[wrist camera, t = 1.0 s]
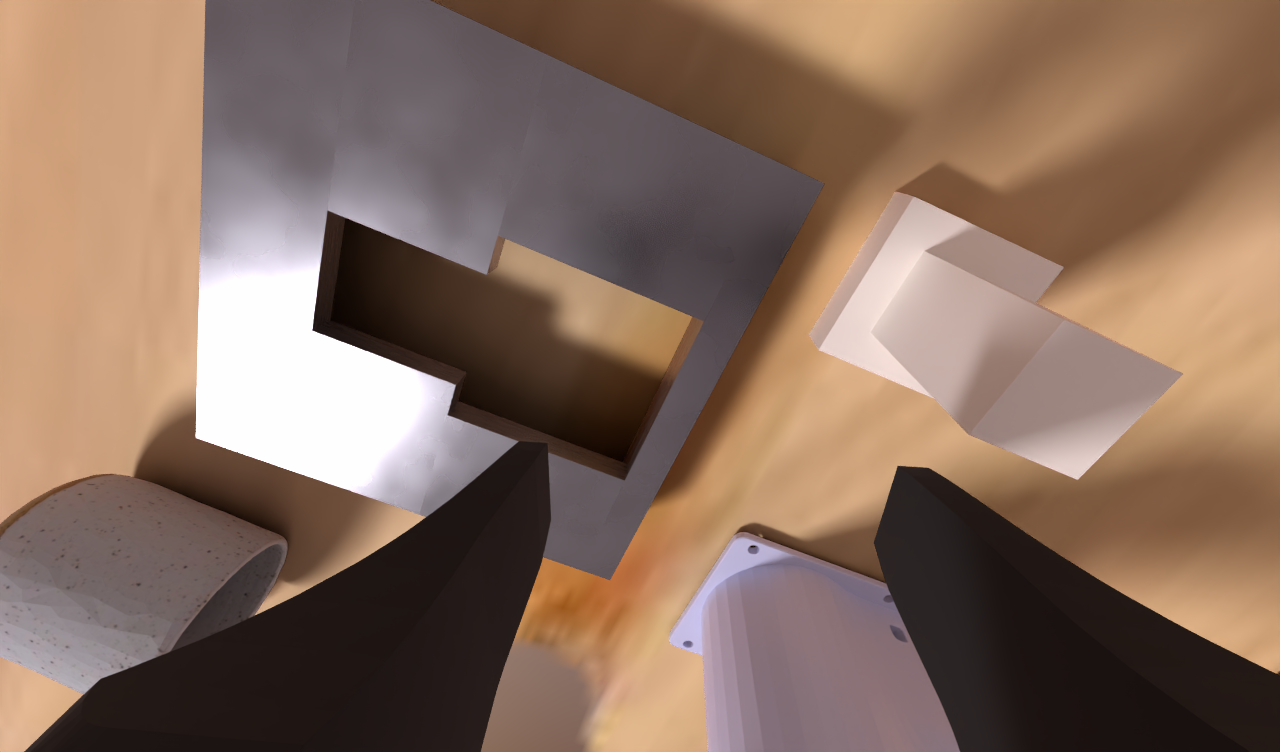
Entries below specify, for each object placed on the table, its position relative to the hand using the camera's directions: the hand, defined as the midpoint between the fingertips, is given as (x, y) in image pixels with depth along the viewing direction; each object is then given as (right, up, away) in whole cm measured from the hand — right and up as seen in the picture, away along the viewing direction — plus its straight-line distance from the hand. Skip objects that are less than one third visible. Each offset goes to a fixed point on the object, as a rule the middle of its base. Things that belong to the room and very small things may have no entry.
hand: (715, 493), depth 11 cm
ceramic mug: (-23, -6, +15) cm, 28 cm away
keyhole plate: (-7, +5, +8) cm, 12 cm away
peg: (+8, +5, +8) cm, 13 cm away
